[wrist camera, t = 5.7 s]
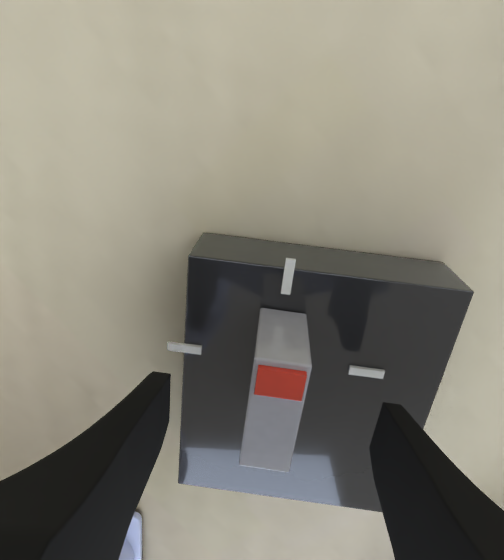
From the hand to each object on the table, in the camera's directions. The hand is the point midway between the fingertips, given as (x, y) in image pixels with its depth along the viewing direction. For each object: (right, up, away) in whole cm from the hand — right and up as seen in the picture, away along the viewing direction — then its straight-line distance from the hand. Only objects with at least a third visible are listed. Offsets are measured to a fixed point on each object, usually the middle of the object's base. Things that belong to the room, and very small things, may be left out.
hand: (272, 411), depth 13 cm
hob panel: (+2, 0, +6) cm, 6 cm away
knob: (0, +1, +3) cm, 3 cm away
